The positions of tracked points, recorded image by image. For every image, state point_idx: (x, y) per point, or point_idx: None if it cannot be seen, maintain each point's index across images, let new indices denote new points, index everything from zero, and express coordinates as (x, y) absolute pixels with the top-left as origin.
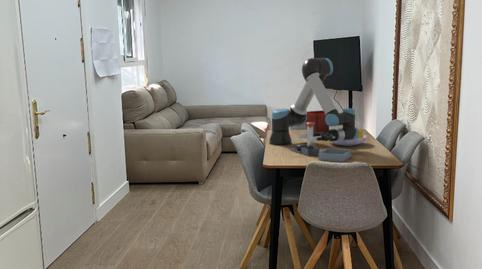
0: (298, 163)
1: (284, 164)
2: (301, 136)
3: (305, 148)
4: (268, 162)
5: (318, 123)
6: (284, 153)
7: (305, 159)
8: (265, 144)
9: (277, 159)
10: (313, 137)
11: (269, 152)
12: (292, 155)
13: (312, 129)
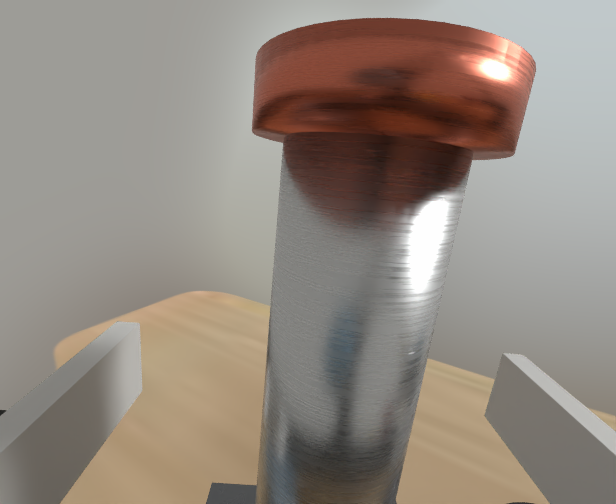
0: None
1: (149, 309)
2: (505, 408)
3: None
4: (233, 297)
5: None
6: (428, 428)
7: (120, 431)
8: None
9: (262, 331)
10: (100, 345)
11: (473, 377)
12: None
13: (274, 269)
